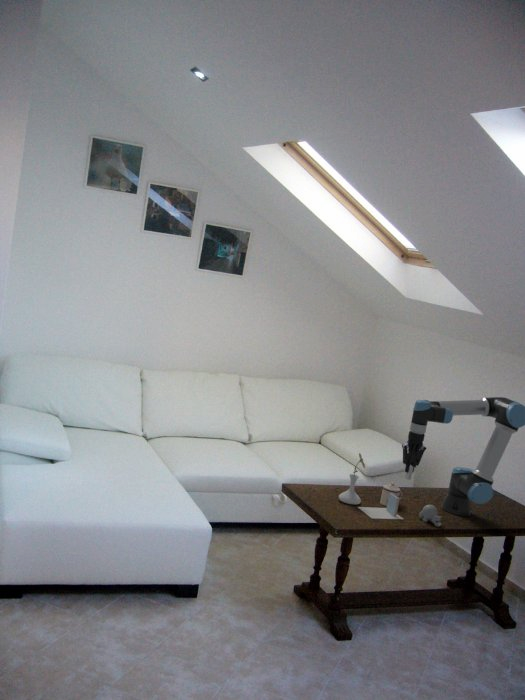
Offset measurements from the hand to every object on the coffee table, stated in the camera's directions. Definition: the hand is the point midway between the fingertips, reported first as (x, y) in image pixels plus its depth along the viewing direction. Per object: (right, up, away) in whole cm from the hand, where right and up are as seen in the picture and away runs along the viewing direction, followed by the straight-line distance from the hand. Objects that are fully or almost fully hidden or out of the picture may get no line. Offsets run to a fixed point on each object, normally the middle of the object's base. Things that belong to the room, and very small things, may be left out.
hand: (407, 478), depth 336 cm
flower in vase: (-27, -13, +8) cm, 31 cm away
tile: (-8, -17, 0) cm, 19 cm away
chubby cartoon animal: (+10, -21, -3) cm, 24 cm away
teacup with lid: (-6, -16, +15) cm, 23 cm away
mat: (-14, -17, -2) cm, 22 cm away
